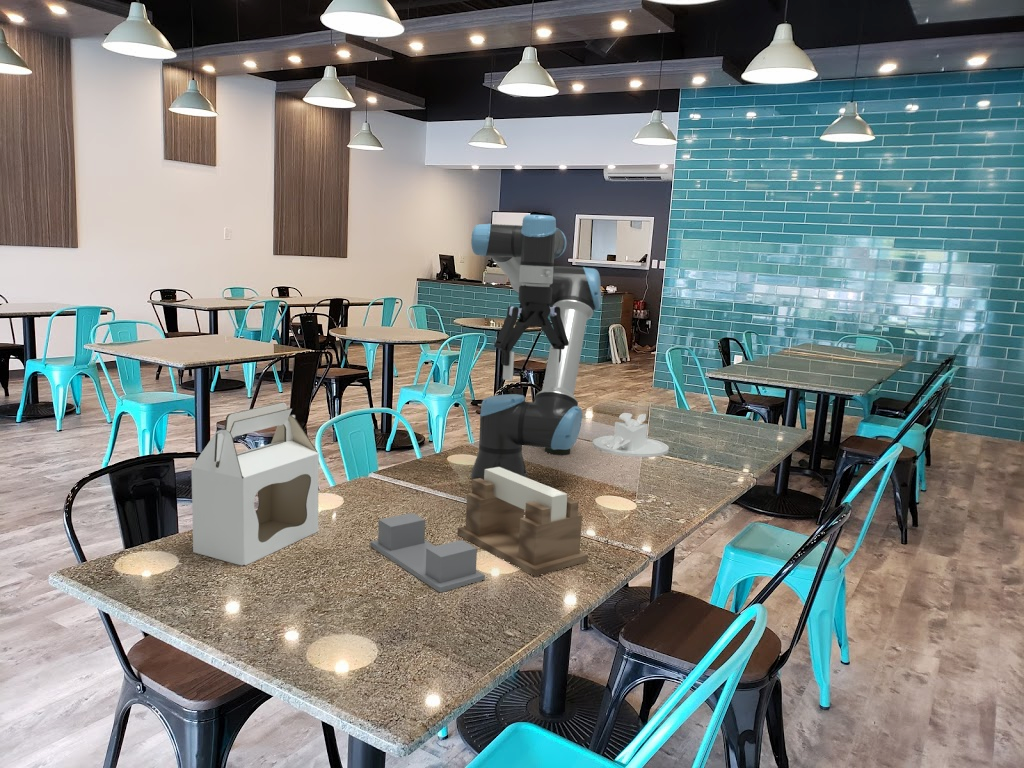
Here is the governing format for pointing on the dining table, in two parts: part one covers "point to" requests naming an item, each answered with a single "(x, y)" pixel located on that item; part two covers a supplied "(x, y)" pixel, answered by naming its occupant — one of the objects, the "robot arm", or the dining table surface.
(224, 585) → the dining table surface
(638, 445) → the dish
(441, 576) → the stand
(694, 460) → the dining table surface
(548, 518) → the notched wooden cradle
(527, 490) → the white rectangular bar
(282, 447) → the gable box
